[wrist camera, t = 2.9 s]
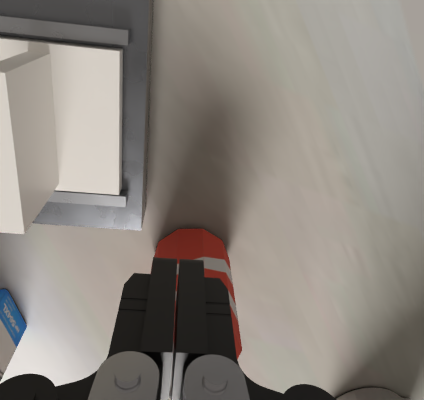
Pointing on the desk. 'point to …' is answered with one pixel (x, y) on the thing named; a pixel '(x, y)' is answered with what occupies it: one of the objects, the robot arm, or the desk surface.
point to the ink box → (9, 329)
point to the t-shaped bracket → (57, 124)
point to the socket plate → (131, 96)
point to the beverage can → (213, 264)
